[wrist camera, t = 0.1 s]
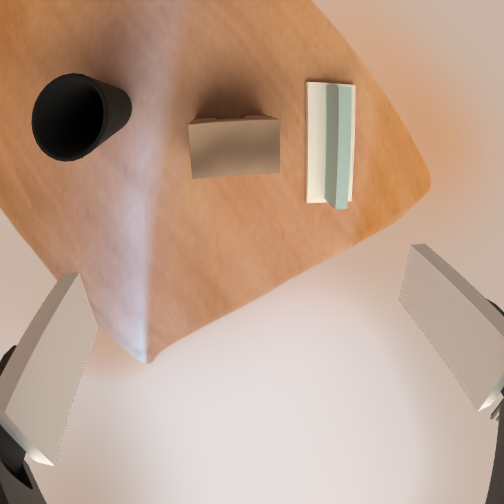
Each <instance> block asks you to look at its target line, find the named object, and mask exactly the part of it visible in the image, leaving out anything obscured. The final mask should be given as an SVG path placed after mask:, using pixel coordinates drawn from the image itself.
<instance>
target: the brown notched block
mask: <svg viewBox="0 0 504 504" xmlns="http://www.w3.org/2000/svg"><path fill="white" fill-rule="evenodd" d="M188 132H189V145H190V157H191V169H192V179H198V178H209V177H222V176H236V175H251V174H270V173H280V137H279V119H276V118H273V117H270V116H267V115H243V118H229V119H216V117H211V118H199V119H194V120H193V121H192V122H190V123H189V124H188Z"/></svg>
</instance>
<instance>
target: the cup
mask: <svg viewBox="0 0 504 504" xmlns="http://www.w3.org/2000/svg"><path fill="white" fill-rule="evenodd" d="M131 111H132V106H131V101H130V98H129V97H128V95H127V94H126V93H125V92H124V91H123V90H121V89H118V88H116V87H114V86H111V85H109V84H106V83H104V82H101V81H98V80H96V79H93V78H91V77H88V76H85V75H83V74H75V73H72V74H66V75H62V76H60V77H58V78H56V79H54V80H53V81H51V82H50V83H49V84H48V85H46V87H45V88H44V89H43V90H42V92H41V93H40V94H39V96H38V98H37V100H36V102H35V105H34V108H33V112H32V130H33V135H34V138H35V140H36V143H37V144H38V146H39V147H40V149H41V150H42V151H43V152H44V153H45V154H47V155H48V156H49V157H51V158H53V159H55V160H59V161H64V162H66V161H75V160H77V159H80V158H83V157H84V156H86V155H87V154H89V153H90V152H92V151H93V150H94V149H95V148H97V147H98V146H99V145H100V144H102V143H103V142H104V141H105V140H107V139H108V138H109V137H111V136H112V135H113V134H115V133H116V132H117V131H119V130H120V129H121V128H122V127H123V126H124V125H125V124H126V123H127V122H128V120H129V118H130V115H131Z"/></svg>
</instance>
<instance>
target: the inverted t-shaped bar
mask: <svg viewBox="0 0 504 504" xmlns="http://www.w3.org/2000/svg"><path fill="white" fill-rule="evenodd" d="M354 143H355V85H349V84H336V83H321V82H306V200H305V201H306V202H307V203H322V202H328V203H329V204H330V205H331V206H332V207H333V208H334V209H347V204H348V201H351V198H352V183H353V166H354Z"/></svg>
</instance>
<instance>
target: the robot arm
mask: <svg viewBox="0 0 504 504" xmlns="http://www.w3.org/2000/svg"><path fill="white" fill-rule="evenodd" d="M399 301H400V303H401V304H402V305H403V307H404V308H405V309H406V310H407V312H408V313H409V314H410V316H411V317H412V318H413V320H414V321H415V322H416V324H417V325H418V326H419V328H420V329H421V330H422V332H423V333H424V334H425V336H426V337H427V338H428V340H429V341H430V342H431V344H432V345H433V346H434V348H435V349H436V351H437V352H438V353H439V355H440V356H441V358H442V359H443V360H444V362H445V363H446V365H447V366H448V368H449V369H450V370H451V372H452V373H453V375H454V376H455V378H456V379H457V381H458V382H459V384H460V385H461V387H462V388H463V390H464V391H465V393H466V394H467V396H468V397H469V398H470V400H471V402H472V403H473V405H474V406H475V408H476V409H477V411H480V410H481V409H483V408H485V407H487V406H489V405H491V404H492V403H493V402H494V401H495V399H496V398H497V396H498V395H499V393H500V392H501V393H502V395H503V396H504V312H503V311H502V310H501V309H500V308H499V307H498V306H497V305H496V304H494V303H493V302H491V301H489V300H488V299H486V298H485V297H484V296H483V295H482V294H481V293H479V292H478V291H477V290H476V289H475V288H474V287H473V286H472V285H471V284H470V283H469V282H468V281H467V280H466V279H465V278H463V277H462V276H461V275H460V274H459V273H458V272H457V271H456V270H454V268H452V267H451V266H450V265H449V264H448V263H447V262H446V261H445V260H443V259H442V258H441V257H440V256H439V255H438V254H436V253H435V252H434V251H433V250H432V249H431V248H429V247H428V246H427V245H426V244H417V245H411V246H410V252H409V257H408V262H407V266H406V271H405V276H404V280H403V284H402V289H401V293H400V297H399ZM98 329H99V328H98V326H97V323H96V320H95V318H94V315H93V312H92V309H91V307H90V304H89V301H88V298H87V295H86V292H85V289H84V286H83V283H82V280H81V277H80V274H79V273H68V274H63V275H62V276H61V277H60V279H59V280H58V282H57V283H56V285H55V286H54V288H53V289H52V291H51V292H50V293H49V295H48V296H47V298H46V299H45V301H44V303H43V304H42V306H41V307H40V309H39V310H38V312H37V313H36V315H35V317H34V318H33V320H32V321H31V323H30V325H29V327H28V328H27V330H26V331H25V333H24V335H23V336H22V338H21V340H20V342H19V343H18V345H17V346H16V345H14V346H13V347H12V348H11V349H10V350H9V351H8V352H7V353H6V354H5V355H4V356H3V358H2V360H1V362H0V504H47V503H46V502H45V500H44V498H43V496H42V494H41V492H40V490H39V487H38V485H37V483H36V481H35V479H34V477H33V475H32V473H31V470H30V468H29V466H28V464H27V463H26V461H25V460H24V457H25V454H26V453H27V454H28V455H29V456H30V457H31V458H32V459H33V460H35V461H36V462H39V463H43V464H48V465H52V466H55V464H56V460H57V456H58V452H59V448H60V444H61V441H62V437H63V433H64V430H65V426H66V423H67V419H68V416H69V413H70V409H71V406H72V403H73V400H74V397H75V394H76V390H77V387H78V384H79V381H80V378H81V375H82V373H83V370H84V367H85V364H86V361H87V358H88V356H89V353H90V350H91V348H92V345H93V342H94V340H95V337H96V335H97V332H98ZM498 412H500V415H499V416H498V417H497V419H496V420H497V421H499V426H498V436H497V444H496V452H495V459H494V465H493V471H492V476H491V481H490V486H489V491H488V495H487V499H486V503H485V504H504V398H503V400H502V401H501V402H500V404H499V405H498V406H497V408H496V409H495V410H494V412H493V413H492V415H491V418H490V419H493V418H494V417H495V416H496V414H497V413H498Z"/></svg>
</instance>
